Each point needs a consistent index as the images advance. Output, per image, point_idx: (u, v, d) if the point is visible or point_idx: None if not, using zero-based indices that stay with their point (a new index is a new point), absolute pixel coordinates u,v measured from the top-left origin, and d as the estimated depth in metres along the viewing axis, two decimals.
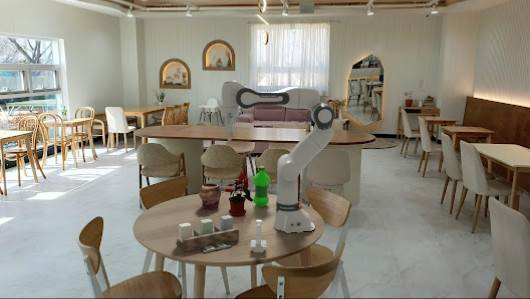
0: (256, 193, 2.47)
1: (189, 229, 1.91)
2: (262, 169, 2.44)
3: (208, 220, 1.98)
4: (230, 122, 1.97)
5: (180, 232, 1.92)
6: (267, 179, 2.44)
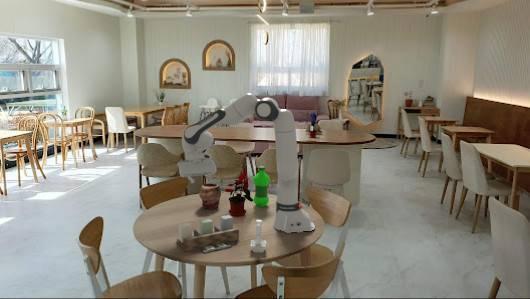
0: (256, 193, 2.47)
1: (189, 229, 1.91)
2: (262, 169, 2.44)
3: (208, 220, 1.98)
4: (180, 166, 2.08)
5: (180, 232, 1.92)
6: (267, 179, 2.44)
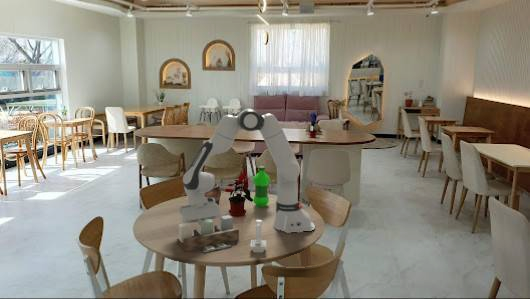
0: (256, 193, 2.47)
1: (189, 229, 1.91)
2: (262, 169, 2.44)
3: (209, 220, 1.97)
4: (182, 212, 1.99)
5: (180, 232, 1.92)
6: (267, 179, 2.44)
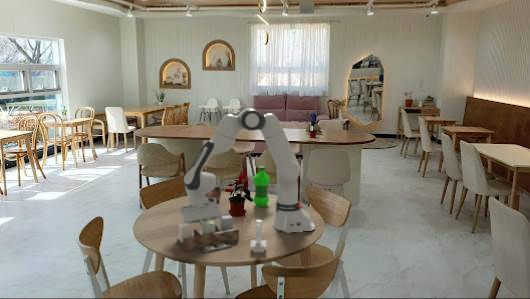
0: (256, 193, 2.47)
1: (189, 229, 1.91)
2: (262, 169, 2.44)
3: (210, 222, 1.95)
4: (183, 213, 1.97)
5: (180, 232, 1.92)
6: (267, 179, 2.44)
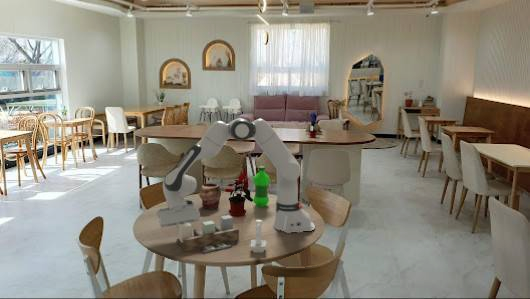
0: (256, 193, 2.47)
1: (189, 229, 1.91)
2: (262, 169, 2.44)
3: (210, 222, 1.95)
4: (159, 215, 1.94)
5: (180, 232, 1.91)
6: (267, 179, 2.44)
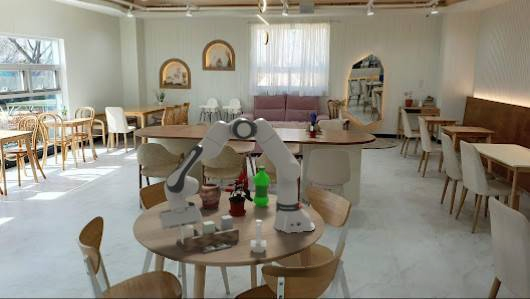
0: (256, 193, 2.47)
1: (191, 231, 1.89)
2: (262, 169, 2.44)
3: (210, 222, 1.95)
4: (161, 217, 1.92)
5: (182, 234, 1.89)
6: (267, 179, 2.44)
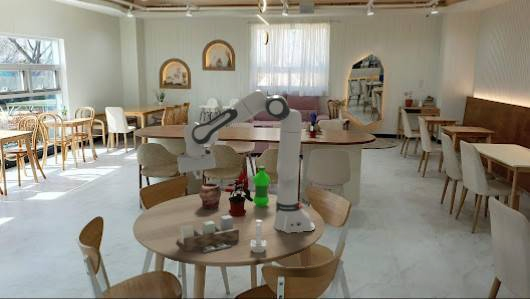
0: (256, 193, 2.47)
1: (191, 231, 1.89)
2: (262, 169, 2.44)
3: (210, 222, 1.95)
4: (179, 162, 2.06)
5: (182, 234, 1.89)
6: (267, 179, 2.44)
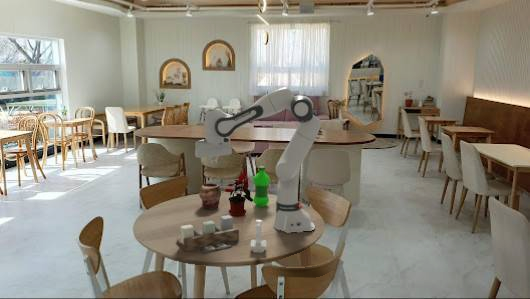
0: (256, 193, 2.47)
1: (191, 231, 1.89)
2: (262, 169, 2.44)
3: (210, 222, 1.95)
4: (197, 148, 2.08)
5: (182, 234, 1.89)
6: (267, 179, 2.44)
